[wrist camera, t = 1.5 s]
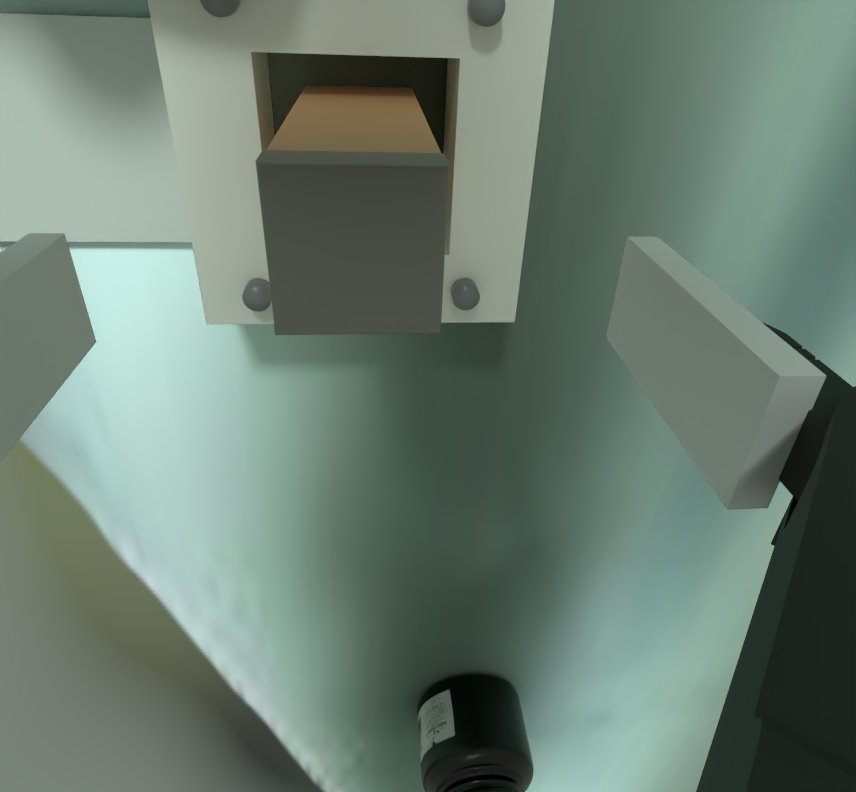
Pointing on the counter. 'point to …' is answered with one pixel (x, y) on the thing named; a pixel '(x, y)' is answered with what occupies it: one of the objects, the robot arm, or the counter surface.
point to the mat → (85, 132)
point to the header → (372, 36)
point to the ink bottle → (473, 737)
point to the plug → (354, 214)
